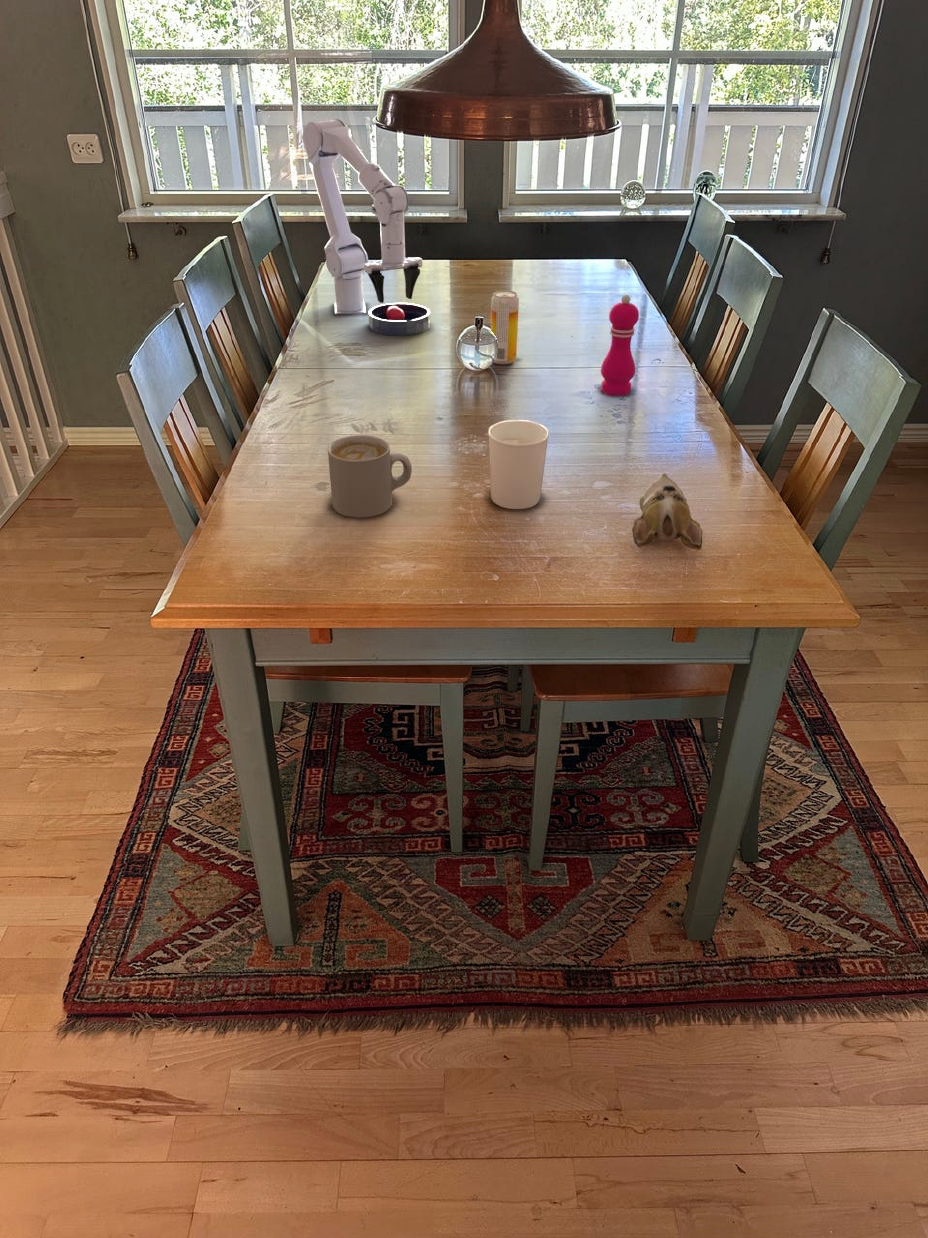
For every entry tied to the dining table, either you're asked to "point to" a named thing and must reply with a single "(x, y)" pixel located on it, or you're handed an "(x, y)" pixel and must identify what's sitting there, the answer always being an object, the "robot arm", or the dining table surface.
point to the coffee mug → (364, 475)
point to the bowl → (412, 324)
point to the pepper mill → (620, 349)
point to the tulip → (395, 314)
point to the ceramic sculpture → (666, 516)
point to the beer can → (505, 324)
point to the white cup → (517, 462)
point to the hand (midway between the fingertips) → (394, 299)
